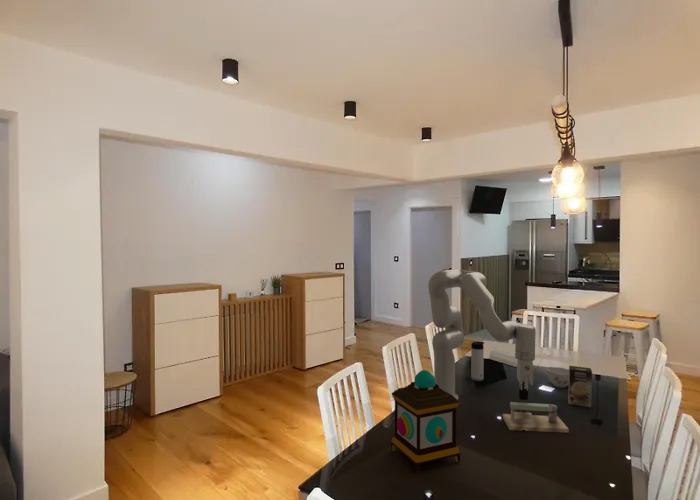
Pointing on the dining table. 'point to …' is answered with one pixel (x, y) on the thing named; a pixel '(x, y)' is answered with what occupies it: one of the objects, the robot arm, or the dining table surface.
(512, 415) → the collar
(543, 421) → the pintle board
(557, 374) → the teacup
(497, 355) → the crystal
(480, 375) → the travel mug
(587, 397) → the coffee box
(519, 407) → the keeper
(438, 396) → the decorative lantern
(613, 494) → the dining table surface
